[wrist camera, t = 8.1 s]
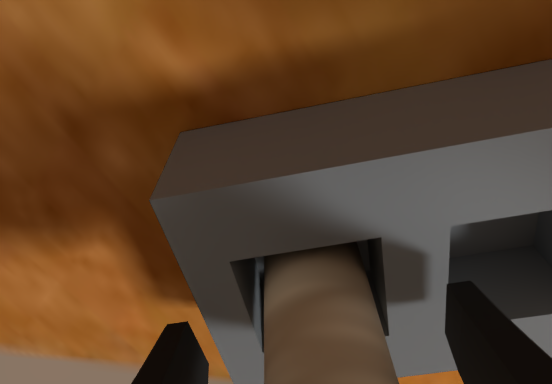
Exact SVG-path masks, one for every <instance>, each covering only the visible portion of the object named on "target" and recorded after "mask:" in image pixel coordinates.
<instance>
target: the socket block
mask: <svg viewBox="0 0 552 384" xmlns="http://www.w3.org/2000/svg"><path fill="white" fill-rule="evenodd" d="M149 201H150V203H151V205H152V208H153V210H154V212H155V214H156V216H157V218H158V221H159V223H160V225H161V227H162V229H163V231H164V234H165V236H166V238H167V240H168V242H169V244H170V247H171V249H172V251H173V253H174V255H175V257H176V260H177V262H178V264H179V266H180V268H181V270H182V273H183V275H184V277H185V279H186V281H187V283H188V286H189V288H190V290H191V292H192V294H193V296H194V299H195V301H196V303H197V305H198V307H199V309H200V312H201V314H202V316H203V318H204V320H205V322H206V325H207V327H208V329H209V331H210V333H211V335H212V338H213V340H214V342H215V344H216V346H217V348H218V351H219V353H220V355H221V357H222V359H223V361H224V364H225V366H226V368H227V370H228V372H229V374H230V377H231V379H232V381H233V383H234V384H264V256H268V255H274V254H280V253H286V252H293V251H299V250H305V249H311V248H318V247H324V246H330V245H336V244H343V243H349V242H355V241H357V245H358V248H359V251H360V255H361V258H362V261H363V265H364V268H365V272H366V275H367V278H368V282H369V285H370V288H371V292H372V295H373V298H374V302H375V305H376V308H377V312H378V315H379V318H380V322H381V325H382V329H383V332H384V335H385V339H386V342H387V345H388V349H389V352H390V355H391V359H392V362H393V365H394V369H395V372H396V376H397V377H406V376H414V375H422V374H430V373H438V372H446V371H455V370H458V369H457V366H456V364H455V361H454V358H453V355H452V352H451V350H450V347H449V344H448V341H447V338H446V335H445V313H446V288H447V284H449V283H456V282H463V281H472V282H473V283H475V284H476V285H477V286H478V287H479V289H480V290H481V291H482V292H483V293H484V294H485V295H486V296H487V297H488V298H489V299H490V300H491V301H492V302H493V303H494V304H495V305H496V306H497V307H498V308H499V309H500V310H501V311H502V312H503V313H504V314H505V315H506V316H507V317H508V318H509V319H510V320H511V321H512V322H513V323H514V324H515V325H516V326H517V327H519V328H520V329H521V330H522V331H523V332H524V333H525V334H526V335H527V336H528V337H529V338H530V339H531V340H533V341H534V342H535V343H536V344H537V345H538V346H539V347H540V348H541V349H542V350H544V351H545V352H546V353H547V354H548V355H549V356H550V357H551V358H552V59H550V60H545V61H540V62H535V63H530V64H525V65H520V66H515V67H510V68H505V69H500V70H494V71H489V72H484V73H479V74H474V75H469V76H464V77H459V78H454V79H449V80H444V81H439V82H434V83H429V84H424V85H418V86H413V87H408V88H403V89H398V90H393V91H388V92H383V93H378V94H373V95H368V96H363V97H358V98H353V99H348V100H343V101H337V102H332V103H327V104H322V105H317V106H312V107H307V108H302V109H297V110H292V111H287V112H282V113H277V114H272V115H267V116H261V117H256V118H251V119H246V120H241V121H236V122H231V123H226V124H221V125H216V126H211V127H206V128H201V129H196V130H191V131H185V132H180V134H179V136H178V139H177V141H176V143H175V145H174V147H173V150H172V152H171V154H170V156H169V158H168V160H167V163H166V165H165V167H164V169H163V171H162V174H161V176H160V178H159V180H158V182H157V185H156V187H155V189H154V191H153V193H152V195H151V198H150V200H149Z"/></svg>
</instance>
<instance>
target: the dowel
mask: <svg viewBox="0 0 552 384" xmlns="http://www.w3.org/2000/svg"><path fill="white" fill-rule="evenodd" d="M264 384H399V382H398V379H397V376H396V372H395V369H394V365H393V362H392V359H391V355H390V352H389V349H388V345H387V342H386V339H385V335H384V332H383V329H382V325H381V322H380V318H379V315H378V312H377V308H376V305H375V302H374V298H373V295H372V292H371V288H370V285H369V282H368V278H367V275H366V272H365V268H364V265H363V261H362V258H361V255H360V251H359V248H358V245H357V241H355V242H349V243H343V244H336V245H330V246H324V247H318V248H311V249H305V250H299V251H293V252H286V253H280V254H274V255H268V256H264Z"/></svg>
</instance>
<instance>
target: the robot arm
mask: <svg viewBox="0 0 552 384" xmlns="http://www.w3.org/2000/svg"><path fill="white" fill-rule="evenodd" d="M445 335H446V338H447V341H448V344H449V347H450V350H451V352H452V355H453V358H454V361H455V364H456V366H457V369H458V372H459V374H460V376H461V378H462V380H463V382H464V384H552V358H551V357H550V356H549V355H548V354H547V353H546V352H545V351H544V350H542V349H541V348H540V347H539V346H538V345H537V344H536V343H535V342H534V341H533V340H531V339H530V338H529V337H528V336H527V335H526V334H525V333H524V332H523V331H522V330H521V329H520V328H519V327H517V326H516V325H515V324H514V323H513V322H512V321H511V320H510V319H509V318H508V317H507V316H506V315H505V314H504V313H503V312H502V311H501V310H500V309H499V308H498V307H497V306H496V305H495V304H494V303H493V302H492V301H491V300H490V299H489V298H488V297H487V296H486V295H485V294H484V293H483V292H482V291H481V290H480V289H479V287H478V286H477V285H476V284H475V283H473V282H472V281H463V282H456V283H449V284H447V288H446V313H445ZM208 371H209V363H208V361H207V359H206V357H205V355H204V353H203V351H202V349H201V347H200V345H199V343H198V341H197V339H196V337H195V335H194V333H193V331H192V329H191V327H190V325H189V323H188V321H187V322H180V323H173V324H167V326H166V327H165V328H164V330H163V332H162V333H161V335H160V337H159V338H158V340H157V342H156V344H155V345H154V347H153V349H152V350H151V352H150V354H149V355H148V357H147V359H146V360H145V362H144V364H143V365H142V367H141V369H140V370H139V372H138V374H137V376H136V377H135V379H134V380H133V382H132V383H131V384H208Z"/></svg>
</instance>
